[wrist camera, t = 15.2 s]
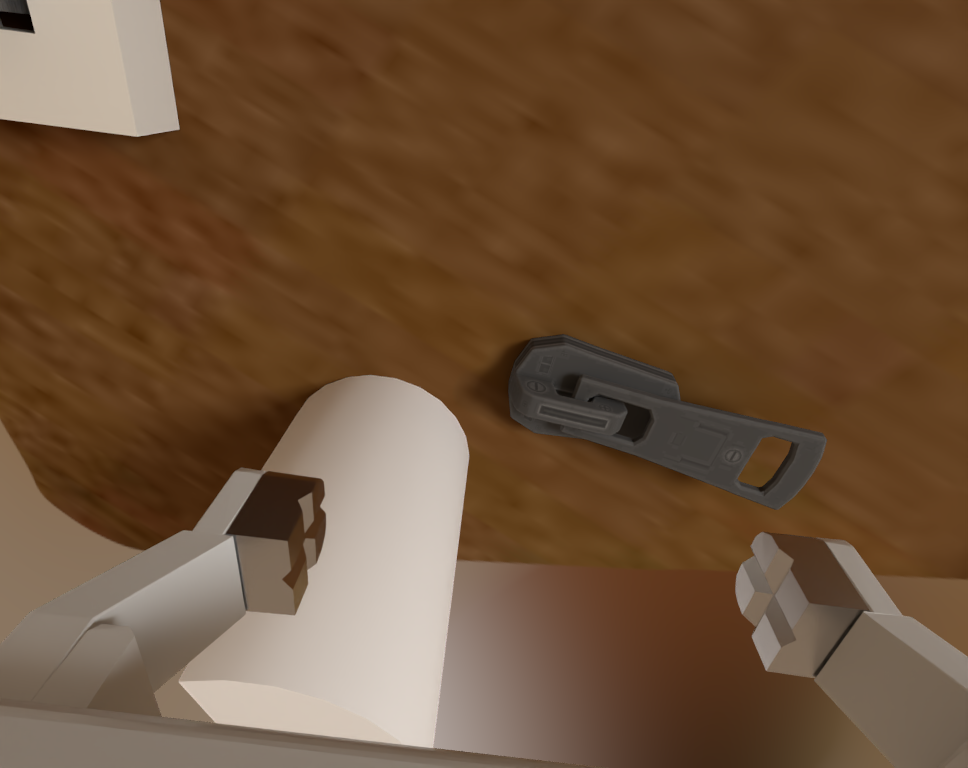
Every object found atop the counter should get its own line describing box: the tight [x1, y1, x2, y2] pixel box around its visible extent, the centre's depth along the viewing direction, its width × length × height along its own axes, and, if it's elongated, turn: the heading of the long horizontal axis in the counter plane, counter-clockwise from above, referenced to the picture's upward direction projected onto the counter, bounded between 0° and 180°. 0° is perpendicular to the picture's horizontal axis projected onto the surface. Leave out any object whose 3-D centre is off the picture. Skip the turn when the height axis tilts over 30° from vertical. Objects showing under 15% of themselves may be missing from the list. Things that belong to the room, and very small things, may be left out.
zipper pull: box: [508, 334, 827, 510], centre depth 45 cm, size 9×7×25 cm
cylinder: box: [178, 375, 469, 748], centre depth 41 cm, size 17×17×28 cm
